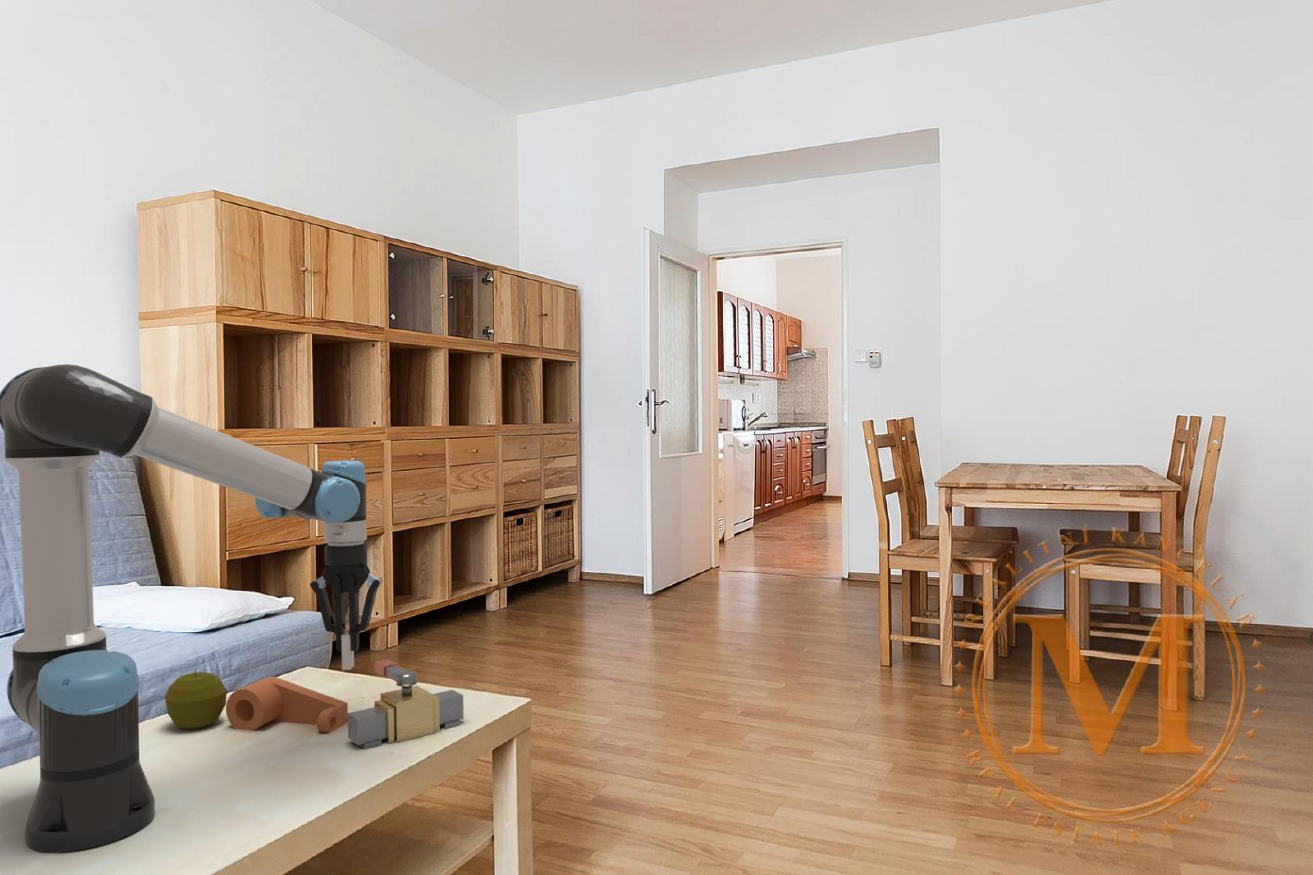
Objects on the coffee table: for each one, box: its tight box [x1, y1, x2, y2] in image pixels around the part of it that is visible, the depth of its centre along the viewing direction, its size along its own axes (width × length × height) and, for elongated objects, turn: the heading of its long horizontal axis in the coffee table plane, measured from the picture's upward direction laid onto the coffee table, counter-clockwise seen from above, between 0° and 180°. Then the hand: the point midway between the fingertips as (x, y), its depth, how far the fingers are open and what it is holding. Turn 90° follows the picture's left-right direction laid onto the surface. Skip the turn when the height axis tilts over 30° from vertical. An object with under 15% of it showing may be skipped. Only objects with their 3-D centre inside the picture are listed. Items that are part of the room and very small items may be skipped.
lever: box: [374, 659, 418, 688], centre depth 161 cm, size 13×4×2 cm, turn 40°
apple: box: [164, 668, 228, 731], centre depth 162 cm, size 10×10×11 cm
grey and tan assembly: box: [347, 685, 465, 750], centre depth 158 cm, size 20×7×8 cm, turn 130°
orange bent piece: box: [225, 676, 349, 734], centre depth 162 cm, size 20×8×8 cm, turn 76°
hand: (348, 667), depth 164 cm, fingers closed
